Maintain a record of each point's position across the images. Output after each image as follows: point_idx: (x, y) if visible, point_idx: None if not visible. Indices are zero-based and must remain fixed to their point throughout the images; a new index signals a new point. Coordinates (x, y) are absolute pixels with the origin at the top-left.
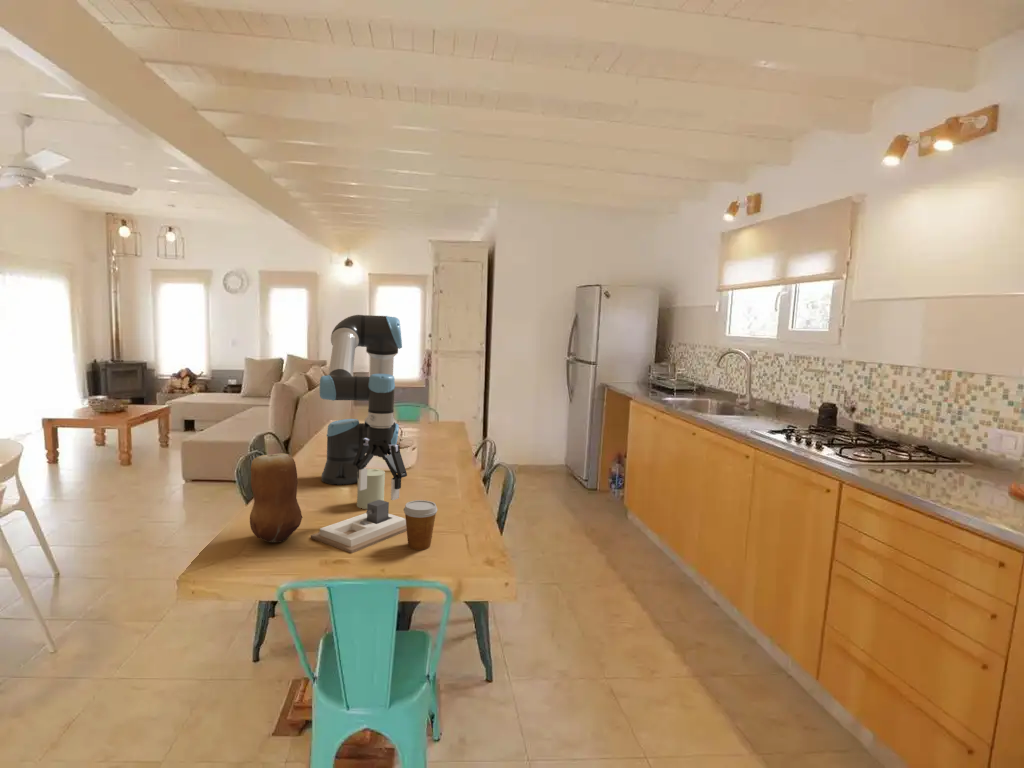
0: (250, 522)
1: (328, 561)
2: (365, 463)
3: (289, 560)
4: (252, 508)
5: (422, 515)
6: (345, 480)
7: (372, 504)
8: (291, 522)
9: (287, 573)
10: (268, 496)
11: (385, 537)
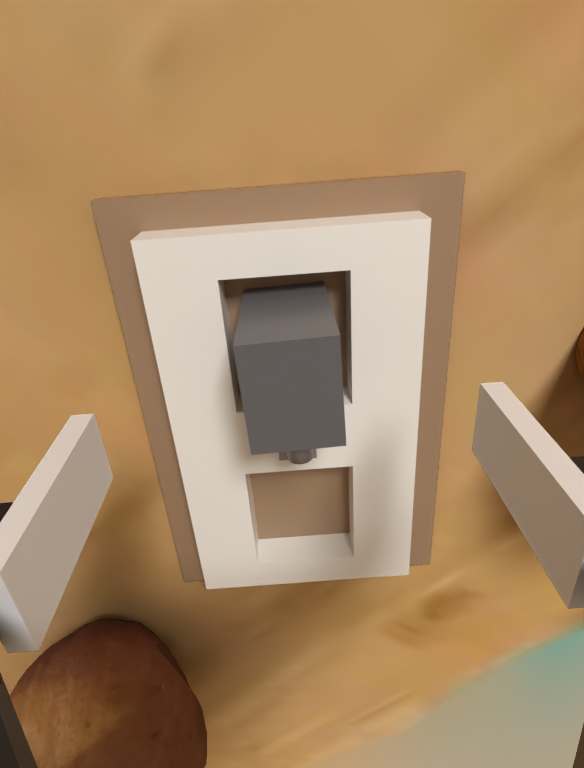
0: None
1: (412, 623)
2: (5, 703)
3: (311, 676)
4: None
5: None
6: None
7: (292, 444)
8: (202, 733)
9: (382, 705)
10: None
11: (442, 403)
